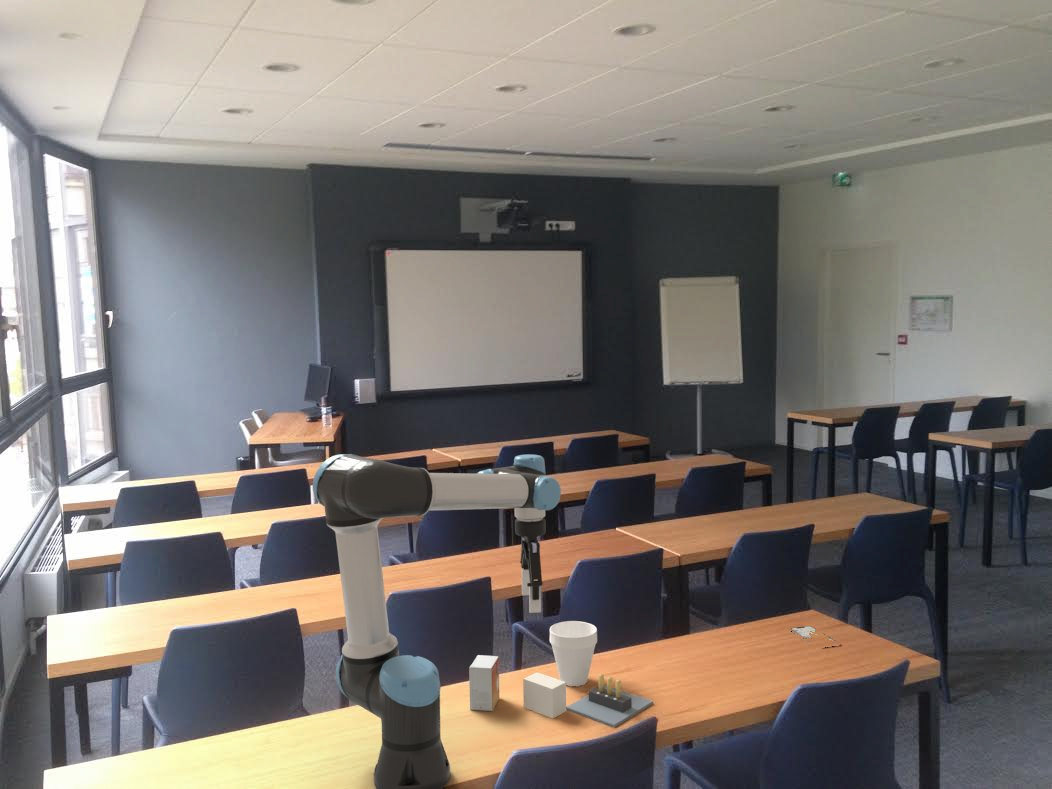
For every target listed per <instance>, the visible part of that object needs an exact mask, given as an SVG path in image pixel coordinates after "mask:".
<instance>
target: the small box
mask: <svg viewBox="0 0 1052 789" xmlns="http://www.w3.org/2000/svg"><path fill="white" fill-rule="evenodd" d="M468 670H469V672H468V674H469V675H468V676H469V680H468V682H469V709H470V710H471V711H485V712H486V711H488V712H493V711H494V709H495V706H496V704H497V703H498V701H499V700H500V656H497V655H486V654H485V655H483V654H481V655H480V654H478V655H476V657H475V659H474V660H473V662H472V664H470V666H469V667H468Z"/></svg>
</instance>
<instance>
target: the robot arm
mask: <svg viewBox="0 0 1052 789" xmlns="http://www.w3.org/2000/svg"><path fill="white" fill-rule="evenodd" d="M561 489H562V488H561V485H560V483H559V482H558V480H557V479H556V478H554V477H552V476H547V474H546V465H545V458H544V457H543V456H542V455H539V454H538V455H537V454H520V455H519V454H518V455H516V456H514V459H513V465H511V466H506V467H505V466H504V467H496V468H487V469H484V470H480V471H478V472H476V473H465V472H462V473H458V472H457V473H456V472H455V473H454V472H449V473H448V472H429V471H428V470H427V469H426V468H424V467H414V466H413V467H412V466H411V467H409V466H405V465H399V464H396V463H392V462H388V461H385V460H381V459H374V458H370V457H365V456H361V455H360V456H359V455H357V454H354V453H353V454H352V453H350V454H346V453H345V454H344V453H343V454H341V453H339V454H335V455H332V456H331V457H328V458H326V460H325V461H323V462H322V463H321V465H320V466H319V468H318V469H317V470H316V472H315V474H314V477H313V480H312V491H313V495H314V497H315V499H316V501H318V503H319V504H320V505H321V506H323V507H324V514H325V520H326V526H327V527H328V528H330V529H332V531H334V533H335V540H336V548H337V549H336V550H337V557H338V566H339V574H340V582H341V590H342V597H343V598H342V601H343V606H344V608H343V609H344V616H345V624H346V631H347V641H345V643H344V644H343V645H342V648H341V653H342V654H341V655H340V659H339V661H338V662H337V665H336V668H335V679H336V683H337V686H338V689H339V690H340V692H341V693H342V694H343V695H344V696H345V697H346V698H347V699H348V700H349V701H350V702H351V703H353V704H356V705H357V706H359V707H362V709H365V710H366V711H368V712H369V713H371V714H373V715H374V716H376V717H377V718H379V719H380V721H381V746H380V751H379V755H378V759H377V763H376V764H375V767H374V770H373V784H374V787H375V789H444V788H445V787H446V786H447V785H448V783H450V779H451V766H450V762H449V759H448V756H447V755H448V754H447V753H446V750H445V748H444V744H443V742H442V740H441V739H442V738H441V687H442V686H441V682H440V675H439V670H438V668H437V666H436V665H435V664H434V663H433V661H430V660H429V659H427V658H425V657H422V656H419V655H417V656H413V655H412V654H411V655H410V654H406V655H405V654H403V655H400V650H399V642H398V639H397V637H396V636H395V635H393V633H390V629H389V628H390V626H389V618H388V611H387V601H386V593H385V583H384V574H383V573H384V572H383V566H382V557H381V548H380V547H381V546H380V541H379V540H380V539H379V532H378V531H379V529H378V526H379V523H381V521H382V520H383V519H393V518H405V517H407V518H408V517H420V516H424V515H426V514H427V513H428V512H429V511H453V510H454V511H457V510H459V511H460V510H463V511H464V510H486V509H489V510H492V509H493V510H495V509H496V510H497V509H514V517H515V520H514V533H515V535H517V536H519V537H521V548H520V549H521V550H520V551H521V552H520V560H519V563H520V565H521V566H520V568H521V596H528V598H529V604H528V606H529V608H528V609H529V610H528V611H529V614H533V613H536V614H538V613H542V586H543V577H542V564H541V551H540V550H541V548H540V547H541V544H540V542H539V540H538V537H541V536H544V535H545V534H546V529H547V528H546V527H547V526H546V522H547V521H546V519H545V517H546V511H551V510H553V509H554V508H555V507H557V505H558V504H559V502H560V500H561V494H562V490H561Z"/></svg>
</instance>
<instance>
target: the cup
mask: <svg viewBox="0 0 1052 789" xmlns="http://www.w3.org/2000/svg"><path fill="white" fill-rule="evenodd" d="M549 643H550V644H551V647H552V652H553V656H554V660H555V664H556V668H557V672H558V677H559V680H561V681H564V682H566V685H568V686H567V687H572V686H576V687H581V686H580V685H582V686H584V685H586V684H587V683H586V682H588V680H589V676H590V669H591V665H592V663H593V662H592V661H593V656H594V652H595V649H596V644H598V629H597V627H596V626H595V625H594V624H592V623H588V622H586V621H579V620H578V621H577V620H567V621H561V622H558V623H554V624H553V625H551V626H550V627H549ZM585 683H586V684H585ZM583 684H584V685H583Z"/></svg>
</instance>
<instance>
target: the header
mask: <svg viewBox="0 0 1052 789" xmlns="http://www.w3.org/2000/svg"><path fill="white" fill-rule="evenodd" d="M604 676H605V675H604V674H603V673H601V674H600V673H599V674H598V686H595V687H593V688H592V689H590V690H588V694H587V695H586V696H584V697H582V698H581V699H580V698H579V699H578V700H576V701H575V702H573V703H571V704H569V705H566V711H569V712H571V713H574V714H576V715H580V716H582V717H585V718H588V719H591V720H593V721H595V722H598V723H601V724H604V725H606V726H610V727H612V728H616V727H617V726H619V725H620V724H622V723H624V722H625V721H627V720H629V719H631V718H632V717H634V716H635V715H637V714H639V713H640V712H642V711H644V710H645V709H646V708H649V707H650V706H652V705H653V704H654V700H651V699H649V698H645V697H642V696H639V695H636V694H633V693H629V692H626V691H624V690H622V681H621V679H616V680H615V687H613V677H612V676H607V678H606V685H605V681H604V680H605V679H604V678H605V677H604Z"/></svg>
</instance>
